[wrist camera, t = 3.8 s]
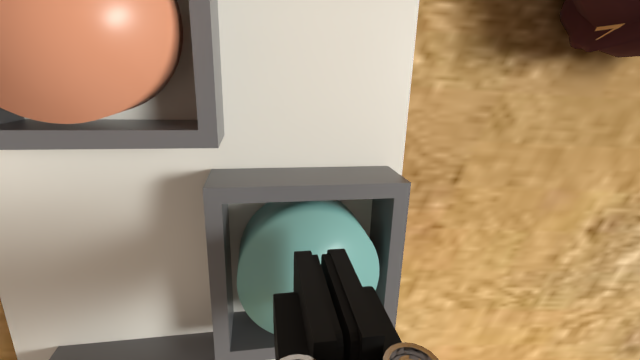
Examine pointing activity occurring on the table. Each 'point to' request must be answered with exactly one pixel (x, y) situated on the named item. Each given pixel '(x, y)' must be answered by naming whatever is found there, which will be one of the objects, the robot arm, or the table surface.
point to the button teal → (296, 235)
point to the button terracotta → (85, 56)
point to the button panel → (205, 180)
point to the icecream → (603, 26)
